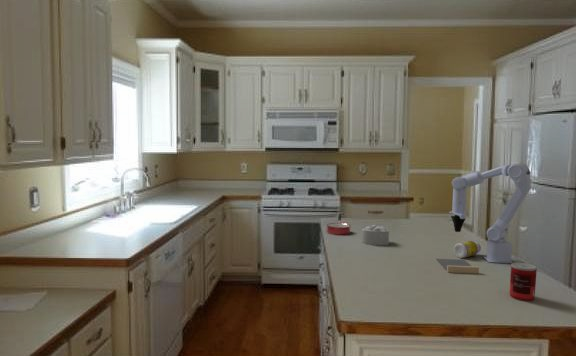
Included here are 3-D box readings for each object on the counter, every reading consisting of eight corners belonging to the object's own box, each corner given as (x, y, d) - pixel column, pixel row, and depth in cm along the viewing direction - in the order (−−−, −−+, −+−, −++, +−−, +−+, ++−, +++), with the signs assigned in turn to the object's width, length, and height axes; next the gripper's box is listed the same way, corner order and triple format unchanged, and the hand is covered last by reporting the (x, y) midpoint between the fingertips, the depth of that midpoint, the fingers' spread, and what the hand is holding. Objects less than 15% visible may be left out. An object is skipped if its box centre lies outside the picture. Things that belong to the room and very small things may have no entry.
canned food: (526, 293, 157) (528, 262, 156) (539, 301, 150) (542, 269, 149) (504, 293, 157) (506, 262, 156) (517, 301, 149) (519, 268, 148)
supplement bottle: (468, 253, 198) (485, 249, 205) (459, 240, 202) (477, 237, 209) (458, 261, 203) (476, 257, 210) (450, 248, 206) (467, 245, 213)
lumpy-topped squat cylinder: (389, 245, 224) (390, 228, 223) (363, 245, 225) (363, 228, 224) (385, 241, 235) (386, 224, 234) (360, 240, 235) (361, 224, 234)
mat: (464, 260, 199) (464, 255, 198) (478, 273, 179) (478, 267, 179) (436, 259, 200) (436, 253, 199) (447, 272, 181) (447, 266, 180)
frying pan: (325, 223, 279) (325, 213, 278) (346, 224, 278) (346, 214, 278) (327, 235, 247) (327, 223, 246) (351, 235, 247) (351, 224, 246)
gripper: (446, 200, 216) (444, 228, 217) (454, 204, 201) (453, 234, 203) (461, 200, 215) (459, 228, 216) (470, 205, 201) (469, 235, 202)
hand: (457, 231), depth 209 cm, fingers closed
